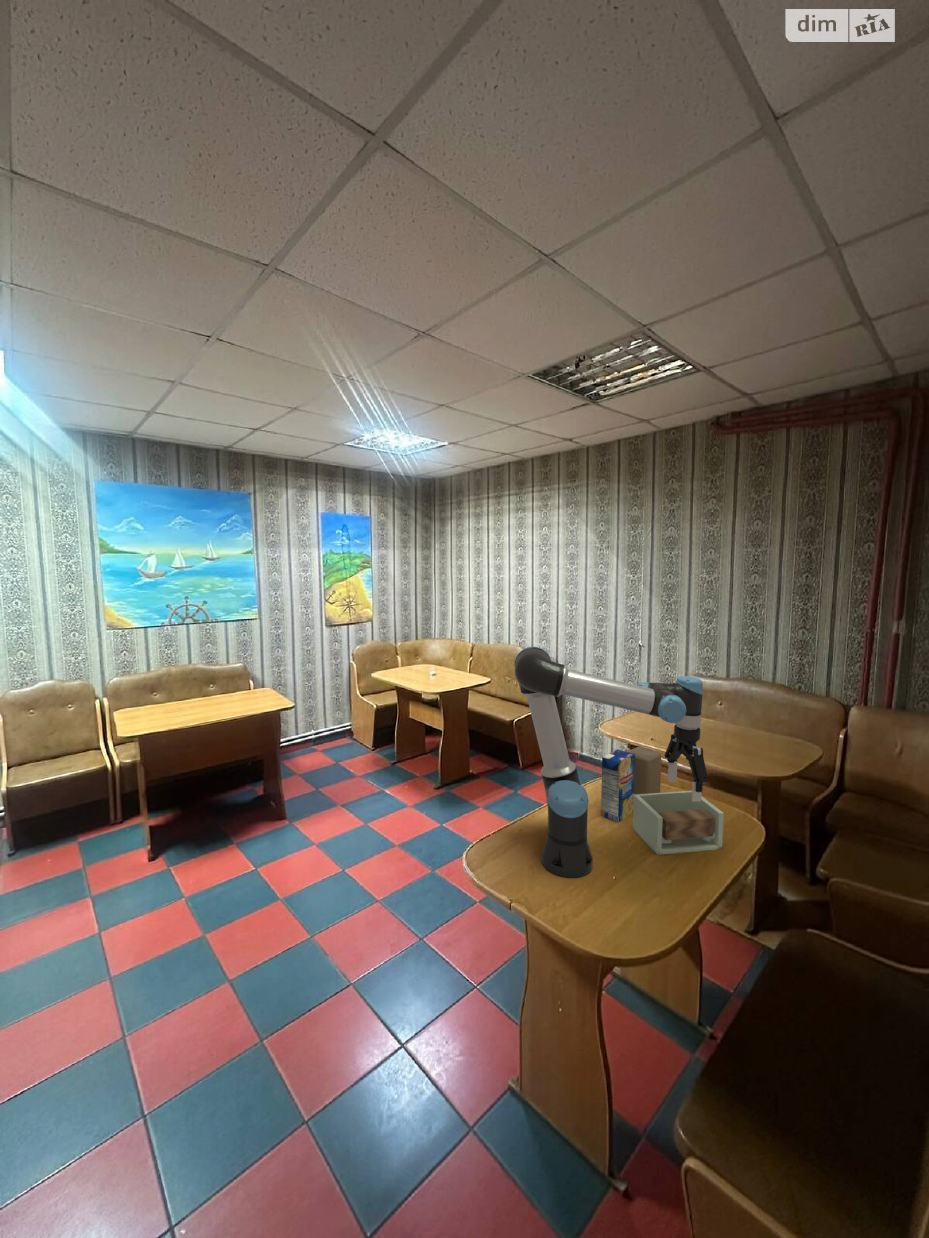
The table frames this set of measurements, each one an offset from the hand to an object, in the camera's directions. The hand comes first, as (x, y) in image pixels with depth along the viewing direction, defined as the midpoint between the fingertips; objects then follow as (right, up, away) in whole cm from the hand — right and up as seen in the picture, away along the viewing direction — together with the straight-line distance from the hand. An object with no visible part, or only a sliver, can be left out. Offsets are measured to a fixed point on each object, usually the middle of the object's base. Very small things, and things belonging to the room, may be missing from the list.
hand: (683, 791), depth 157 cm
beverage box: (-14, -16, +22) cm, 31 cm away
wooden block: (-2, -15, +31) cm, 34 cm away
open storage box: (0, -18, +6) cm, 18 cm away
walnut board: (+1, -14, +1) cm, 14 cm away
